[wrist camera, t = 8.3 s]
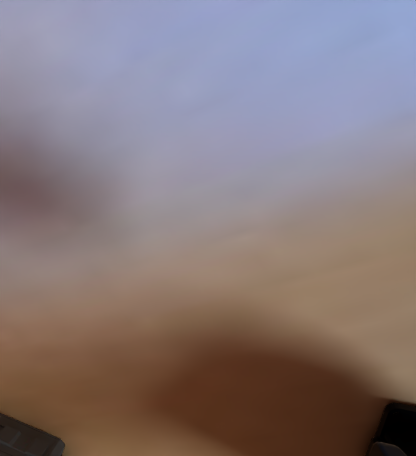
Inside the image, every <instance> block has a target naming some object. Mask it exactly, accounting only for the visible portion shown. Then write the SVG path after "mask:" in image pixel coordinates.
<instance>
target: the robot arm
mask: <svg viewBox="0 0 416 456" xmlns="http://www.w3.org/2000/svg"><path fill="white" fill-rule="evenodd" d="M396 412H398V413H397V414H394V413H396ZM366 456H416V407H413V406H409V405H404V404H399V403H391V404H389V405H387V406H386V408H385V410H384V413H383V415H382V418H381V421H380V424H379V426H378V429H377V432H376V435H375V436H374V437H373V438H372V439H371V442H370V445H369V448H368V451H367V453H366Z"/></svg>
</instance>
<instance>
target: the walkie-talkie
mask: <svg viewBox="0 0 416 456" xmlns="http://www.w3.org/2000/svg"><path fill="white" fill-rule="evenodd" d="M64 447H65V444H64V443H63V441H62V440H61V439H60V438H57V437H55V436H53V435H50V434H48V433H46V432H43V431H41V430H39V429H36V428H34V427H32V426H29V425H27V424H25V423H22V422H20V421H18V420H15V419H13V418H11V417H8V416H6V415H4V414H1V413H0V456H61V455H62V452H63V450H64Z"/></svg>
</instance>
